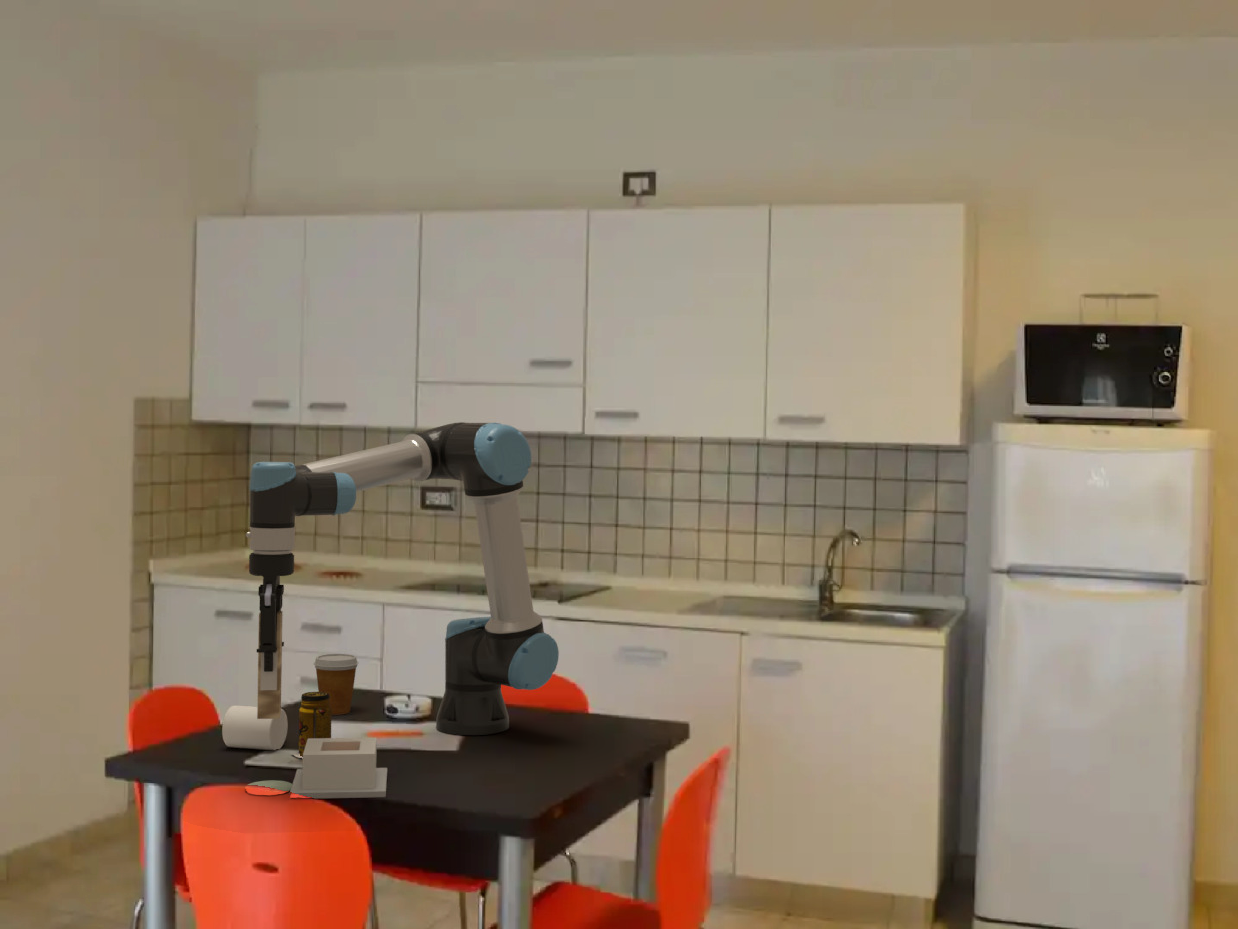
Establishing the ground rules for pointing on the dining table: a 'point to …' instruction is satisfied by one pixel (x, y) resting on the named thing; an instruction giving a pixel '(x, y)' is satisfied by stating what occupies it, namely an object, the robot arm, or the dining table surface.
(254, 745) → the mug
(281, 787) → the coaster
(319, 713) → the condiment
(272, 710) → the beige wooden block
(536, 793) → the dining table surface
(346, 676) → the disposable coffee cup
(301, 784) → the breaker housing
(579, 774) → the dining table surface
